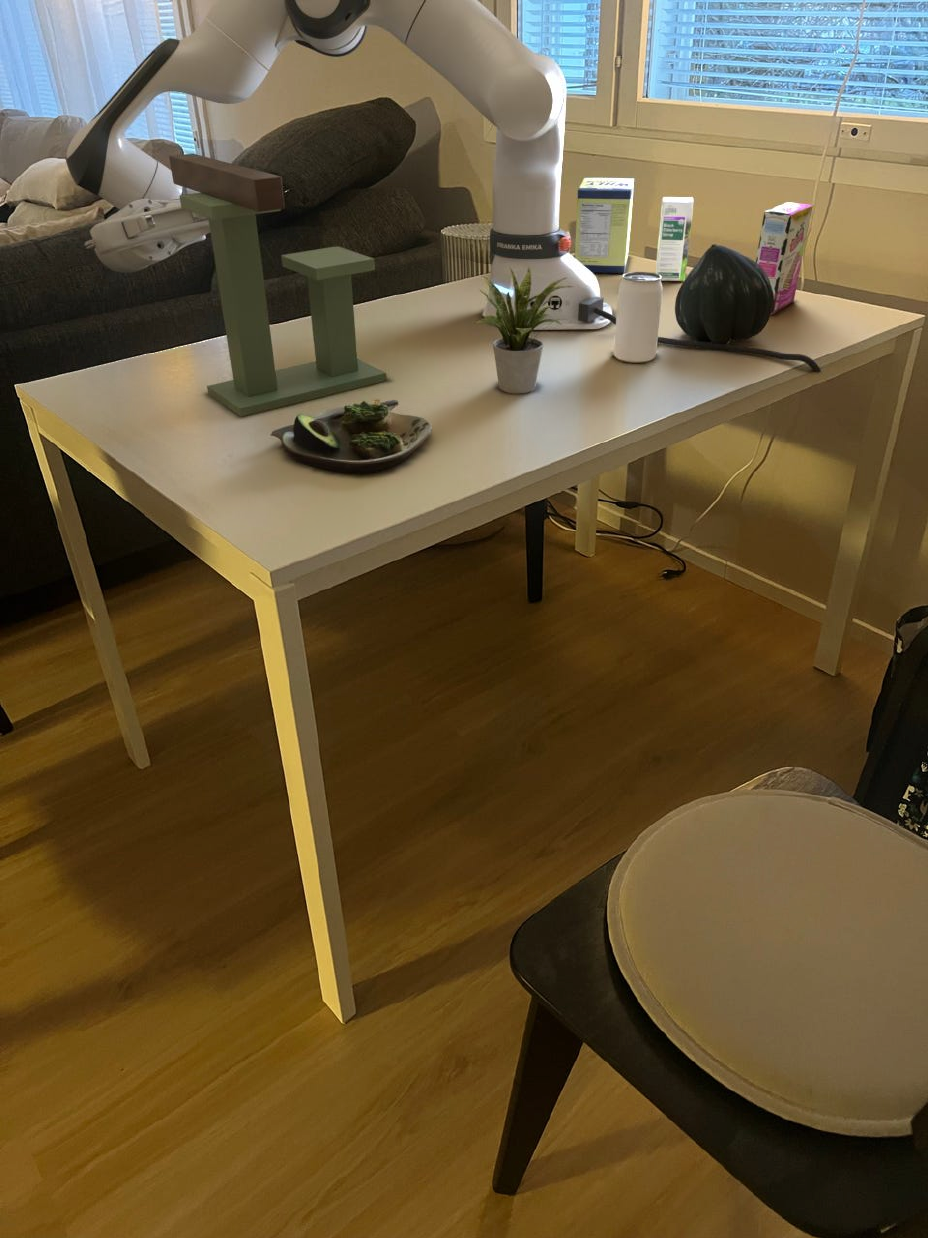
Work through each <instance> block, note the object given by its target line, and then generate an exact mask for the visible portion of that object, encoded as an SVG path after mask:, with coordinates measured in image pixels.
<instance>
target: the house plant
mask: <svg viewBox="0 0 928 1238" xmlns="http://www.w3.org/2000/svg"><path fill="white" fill-rule="evenodd" d="M510 270H511V268H510ZM511 273H512V278H513V283H514V291H515V318H514V312H513V308H512V304H511V297H510V293H509V292H508V293H507V295H506V301H507V305H508V309H509V312H508V309H507V305H506V303H505V301H504V299H503V296H502V294H501V293H500V291H499V289H498V288H497V287H496V286H495V285H494V284H493V283H492V282H491V281H490V278H488V277H485V276H483V275H480V276H481V278H483V279H484V281H485V283H486V284H487V285H488V288H489V287H490V289H491V291H492V293H493V295H494V298H495V300H496V303H497V304H496V303H495V302H494V301H493V300H492V299H491V298H490V297H489V296H488V295H487V294H488V293H486V292H485V291H483V290H482V289H481V288H478V290H479V292H481V293H482V294H483V295H484V296H485V297H486V299H487V298H488V299H489V301H490V302H491V303H492V304H493V305H494V306H495V308H496V309H497V311H496V316H497V317H495V316H486V318H485V317H483V318H480V319H478V320H477V321H476V322H475V323H474V324H477V323H478V324H479V323H480V324H490V325H494V326H495V328H496V329H497V330H498V331H499V333H500V335H501V338H498V339H495V340H494V341H493V343H492V349H493V355H494V361H495V369H496V376H497V383H498V388H499V389H500V390H501V391H502V392H506V393H508V394H527V393H530V392H533V391H534V390H535V389H536V385H537V381H538V376H539V370H540V366H541V360H542V355H543V350H544V342H543V341H542V340H541V339H538V338H536V337H537V336H538V335H539V334H540V332H538V333H537V334H536V335H535V336H534V337H531V334H532V332H533V331H534V330H533V329H534V328H535V327H537V326H538V325H539V324H541V323H544V322H551V323H552V322H556V323H559V324H560V325H562V324H561V323H560V322H558V321H557V320H566V319H557V320H554V319H545V320H542V319H543V318H545V317H546V316H548V315H547V314H544V312H545V311H546V310H547V309H548V308H549V307H552V306H554V305H551V306H547V307H545V308H543V309H542V310H541V311H540V309H539V308H540V306H541V305H542V303H543V301H544V300H545V299H546V297H547V296H548V295H549V294H550V293H551V292H553V291H555V290H557V289H560V288H569V287H571V286H561V287H560V286H557V287H554V286H555V285H556V284H557V283H559V282H560V281H562V280H564V279H566V278H568V277H566V278H563V279H560V280H557V281H555V282H553V283H552V284H550V285H549V286H548V287H547V288H545V289H544V290H543V291H542V293H541V294H538V295H536V296H534V297H532V298H530V299H529V295H530V290H531V272H530V269H529V268H528V271H527V275H526V276H525V277H524V278H523V281H522V283H521V286H520V288H519V286H518V283H517V281H516V278H515V275H514V272H513V271H512V270H511ZM535 298H537V299H536V300H535V302H534V304H533V306H532V307H531V309H528V310H527V306H528V303H529V302H530V301H532V300H534V299H535ZM551 300H559V299H550V300H548V301H546V302H545V303H547V302H549V301H551ZM545 303H544V304H545ZM544 304H543V305H544ZM543 305H542V306H543ZM542 306H541V307H542ZM537 312H538V313H537ZM509 314H510V315H509ZM531 316H532V317H531ZM549 316H550V315H549ZM530 318H531V319H530ZM502 320H503V321H502ZM529 320H530V321H529ZM540 320H542V321H540ZM503 322H504V323H505V325H504V323H503ZM528 322H529V323H528ZM551 323H550V324H551ZM527 324H528V325H527ZM546 327H547V326H546ZM546 327H545V328H546ZM545 328H544V329H545Z"/></svg>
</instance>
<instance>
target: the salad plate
mask: <svg viewBox="0 0 928 1238" xmlns="http://www.w3.org/2000/svg"><path fill="white" fill-rule="evenodd" d="M399 405H400V404H399V400H396V399H392V400H386V401H382V402H380V399H375V400H374V403H373V404H371V403H368V402H367V401H366V400H362V402H361V403H353V404H352V405H350V404H348V405H344V406H342V407H341V406H340V407H334V408H330V409H327V410H325V411H322V412H321V413H318V414H317V415H315V416H314V417H313V416H310V415H308V414H304V413H300V414H297V415H296V416H295V418H294V421H293V424H290V425H287V426H283V427H281V428H277V429H275V430H272V432H271V433H270V436H273V437H275V438H277V439H278V440H280V442H281V444H282V446H283V447H284V449H285V451H287V452H288V454H289V455H290V456H291V457H292V458H293V459H294V460H295V461H297V462H299V463H300V464H304V465H308V466H311V467H314V468H318V469H321V470H325V471H330V472H335V473H342V474H373V473H377V472H381V471H384V470H387V469H389V468H391V467H393V466H395V465H397V464H399V463H400V462H402V461H404V460H405V459H407V458H408V457H409V456H410V454H411V453H413V452H414V451H415V450H416V449H418V448H419V447H421V445H422V444H423V443H424V442H425V441H426V439H427V438H428V437H429V436H430V435H431V434H433V433H432V432H433V425H432V423H430V422H429V420H428V419H426V418H424V417H421V416H418V415H409V414H403V413H396V412H392V411H393V410H394V409H395V408H397V407H398V406H399Z"/></svg>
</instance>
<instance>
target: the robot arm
mask: <svg viewBox="0 0 928 1238" xmlns="http://www.w3.org/2000/svg"><path fill="white" fill-rule="evenodd" d="M368 26H374V27H379V28H381V29H383V30H385V31H386V32H388V33H390V34H391V35H392V36H393V37H395V38H396V39H397V40H398V41H399V42H400V43H401V44H402V45H404V46H405V47H406V48H408V49H409V50H410V51H411V52H412V53H413V54H415V55H416V56H417V57H418V58H420V60H422V61H423V62H424V63H426V64H427V65H428V66H430V67H431V68H432V69H433V70H434V71H436V72H437V74H439V75H440V76H442V78H444V79H445V80H446V81H447V82H449V84H451V85H452V86H453V87H454V88H455V89H456V90H457V91H458V92H459V93H460V94H461V96H463V98H465V100H466V101H468V102H469V104H471V106H473V107H474V108H475V110H477V111H478V112H479V113H480V114H481V115H482V116H483V117H484V118H485V119H487V120H488V121H489V122H490V123H491V124H492V125H493V126H494V127H496V134H495V135H496V136H495V147H494V148H495V150H494V161H493V162H494V164H493V173H492V228H491V229H490V230H489V237H488V259H489V263H490V275H489V280H490V281H491V282H492V283H493V284H494V285H495V286H496V287H497V288H498V289H499V291H500V293H501V294H502V296H503V299H504V301H505V303H506V305H507V301H506V295H507V293H508V292H509V293H510V297H511V304H512V308H513V312H514V318H515V291H514V283H513V278H512V273H511V270H512V271H513V272H514V275H515V278H516V281H517V283H518V286H519V288H520V286H521V283H522V281H523V278H524V277H525V276H526V275H527V271H528V268H529V269H530V272H531V290H530V295H529V299H530V298H532V297H534V296H536V295H538V294H541V293H542V291H543V290H544V289H545V288H547V287H548V286H549V285H550V284H552V283H553V282H555V281H557V280H560V279H563V278H566V277H568V278H566V279H564V280H562V281H560V282H559V283H557V284H556V285H555V286H554V287H557V286H560V287H561V286H571V287H569V288H560V289H557V290H555V291H553V292H551V293H550V294H549V295H548V296H547V297H546V299H545V300H544V301H543V303H542V305H543V304H544V303H545V302H546V301H548V300H550V299H559V300H551V301H549V302H547V303H545V304H544V305H543V306H542V305H541V306H542V307H541V306H540V308H539V309H540V311H541V310H542V309H543V308H545V307H547V306H551V305H554V306H552V307H549V308H548V309H547V310H546V311H545V312H544V314H547V315H548V316H546V317H545V318H543V319H542V320H545V319H554V320H557V319H566V320H557V321H558V322H560V323H561V324H562V325H560V324H559V323H556V322H552V323H551V322H544V323H541V324H539V325H538V326H537V327H535V328H534V329H533V330H532V331H538V330H539V331H544V330H545V331H547V330H551V331H552V330H553V331H554V330H598V329H601V328H605V327H606V326H608V325H609V324H610V322H611V323H613V325H615V326H616V316H614V315H613V308H612V307H611V306H610V304H608V303H606V302H605V301H604V299H605V298H604V297H601V289H600V285H599V281H598V278H597V276H596V275H595V273H594V272H591V271H589V270H588V269H587V268H586V267H585V266H584V265H582V264H581V263H580V262H579V261H578V260H577V259H576V258H575V256H573V255H572V254H571V253H570V250H571V246H572V240H571V234H570V232H569V231H567V232H566V231H565V230H563V229H562V228H560V227H559V226H560V205H561V204H560V203H561V183H562V181H561V180H562V166H563V153H564V139H565V138H564V137H565V122H566V107H567V82H566V77H565V75H564V73H563V70H562V69H561V67H560V66H559V64H558V63H556V61H555V60H554V59H553V58H551V57H550V56H547V55H546V54H543V53H539V52H533V50H531V49H530V48H529V46H527V45H526V44H525V43H524V42H522V41H521V40H520V39H519V38H518V37H517V36H516V35H515V34H514V33H513V32H511V31H510V30H509V28H508V27H506V26H505V25H504V24H503V23H502V22H501V21H500V20H499V19H498V18H497V17H496V15H494V14H493V13H492V12H491V11H490V10H489V9H488V8H487V7H485V5H483V4H482V3H481V2H480V1H478V0H215V2H214V3H213V4H212V6H211V8H210V9H209V11H208V12H207V14H206V16H205V18H204V19H203V20H202V22H201V24H200V25H199V26H198V27H197V29H195V30H194V31H193V32H192V33H191V34H189V35H187V36H186V37H183V38H181V39H176V38H171V37H168V38H167V39H165V40H164V41H162V42H160V43H159V44H158V45H157V46H156V47H155V48H153V49H152V51H151V52H150V53H149V54H148V55H147V56H146V57H145V58H144V59H143V60H142V62H141V63H140V64H139V65H138V66H136V68H135V69H134V71H133V72H132V73H131V74H130V75H129V76H128V77H127V79H126V80H125V81H124V82H123V83H122V85H121V86H120V87H119V88H118V89H117V90H116V91H115V93H114V94H113V95H112V96H111V97H110V99H109V100H107V102H106V104H105V105H103V107H102V108H101V110H99V112H98V113H97V114H96V115H95V116H94V117H93V118H92V119H91V120H90V121H89V122H88V123H86V124H85V125H84V126H83V127H82V128H81V129H80V130H79V131H77V133H76V134H75V135H74V136H73V138H72V139H71V141H70V143H69V145H68V147H67V151H66V155H65V162H66V166H67V169H68V171H69V174H70V177H71V179H72V180H73V183H75V185H77V187H80V188H82V189H83V190H85V191H87V192H89V193H91V194H92V195H94V196H98V197H100V198H101V199H103V200H105V202H107V203H109V204H110V205H112V206H113V207H115V208H117V209H118V211H117V212H115V213H113V214H111V215H110V216H108V217H107V218H106V219H105V220H104V221H102V222H98V223H97V224H95V225H94V226H93V227H91V228H90V231H89V233H90V236H91V239H89V240H86V242H84V247H85V248H86V249H87V250H89V249H94V252H95V255H96V257H97V258H98V260H99V261H100V262H101V263H102V265H104V266H105V267H106V268H108V269H109V270H111V271H113V272H116V273H121V274H132V273H136V272H139V271H142V270H145V269H146V268H149V266H152V265H155V264H157V263H160V262H161V261H163V260H166V259H168V258H169V257H171V256H174V254H176V253H177V252H179V251H180V250H183V249H185V248H188V247H190V246H193V245H196V244H199V243H201V242H203V241H205V240H206V239H207V238H206V237H207V236H206V235H208V234H211V232H210V226H209V220H208V218H207V217H205V216H202V215H199V214H197V213H194V212H191V211H188V210H186V209H183V208H181V202H180V196H179V195H186V194H188V188H185V187H182V186H179V185H176V184H174V182H173V177H172V171H171V168H168V167H167V166H166V165H164V164H162V163H161V162H160V161H159V160H157V159H155V158H154V157H152V156H150V155H149V154H148V153H146V152H145V151H143V150H142V149H140V148H139V147H138V146H137V145H135V144H133V143H132V142H131V141H129V140H128V139H127V137H126V136H125V132H127V130H128V129H129V128H130V126H131V125H132V124H133V123H134V122H135V121H136V119H138V117H140V115H141V114H142V113H143V112H144V110H145V109H146V108H147V107H148V106H149V105H150V103H152V101H153V100H154V99H155V98H156V97H157V96H159V95H161V94H164V93H169V92H176V93H182V94H186V95H190V96H194V97H195V98H196V97H197V98H199V99H201V100H205V101H208V102H212V103H217V104H222V105H223V104H224V105H233V104H239V103H242V102H244V101H246V100H248V99H250V98H251V97H252V95H253V94H254V93H255V92H256V91H257V89H258V88H259V87H260V86H261V84H262V83H263V81H264V80H265V79H266V76H267V75H268V73H269V71H270V70H271V68H272V66H273V64H274V63H275V61H276V59H277V58H278V56H279V55H280V53H281V51H283V49H284V48H285V47H286V46H287V45H288V44H289V43H291V42H293V41H294V42H295V43H296V44H298V45H300V46H303V47H305V48H308V49H310V50H312V51H314V52H316V53H317V54H320V55H324V56H327V57H331V58H341V57H345V56H348V55H351V53H353V52H355V51H356V50H357V49H358V48H359V46H361V44H362V42H363V41H364V39H365V36H366V34H367V29H368ZM510 268H511V270H510ZM486 294H487V295H488V296H489V297H490V298H491V299H492V300H493V301H494V302H495V303H496V300H495V298H494V295H493V293H492V291H491V289H490V287H489V286H488V289H487V293H486ZM536 299H537V298H535V299H534V300H532V301H530V302H529V303H528V306H527V310H528V309H531V307H532V306H533V304H534V302H535V300H536ZM496 304H497V303H496ZM507 309H508V305H507ZM496 311H497V309H496V308H495V306H494V305H493V304H492V303H491V302H490V301H489V299H488V298H487V297H486V299H485V304H484V308H483V311H482V316H483V318H486V316H495V317H497V316H496ZM508 312H509V309H508ZM537 313H538V312H537ZM509 315H510V314H509ZM549 315H550V316H549ZM531 317H532V316H531ZM530 319H531V318H530ZM542 320H540V321H542ZM502 321H503V320H502ZM529 321H530V320H529ZM503 323H504V322H503ZM528 323H529V322H528ZM550 323H551V324H550ZM504 325H505V323H504ZM527 325H528V324H527ZM546 326H547V327H546ZM545 327H546V328H545ZM544 328H545V329H544ZM657 344H663V345H668V346H675V347H676V346H677V347H683V348H694V349H695V348H698V349H710V350H711V349H712V350H721V351H727V352H736V353H742V354H750V355H756V356H761V357H767V358H772V359H776V360H782V361H798V362H803V363H804V364H806V365H808V366H809V367H810V368H811V370H812V372H814V373H815V372H816V373H822V370H821V367H819V365H818V364H817V363H816V361H815V360H814V359H812V358H811V357H810V356H808V355H805V354H802V353H788V352H787V353H786V352H785V353H784V352H779V351H774V350H769V349H763V348H758V347H751V346H744V345H737V344H731V343H727V344H723V343H713V342H700V341H695V340H685V339H676V338H670V337H663V336H658V341H657Z"/></svg>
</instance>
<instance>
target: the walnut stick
mask: <svg viewBox="0 0 928 1238" xmlns="http://www.w3.org/2000/svg"><path fill="white" fill-rule="evenodd" d="M168 159H169V164H170V165H169V166H170V170H171V171H172V177H173V182H174V184H176V185H179V186H182V187H185V188H186V189H187V190H188V189H189V190H192V191H194V192H196V193H203V194H206V195H209V196H212V197H215V198H218V199H221V200H224V201H227V202H230V203H233V204H236V205H239V206H242V207H245V208H248V209H251V210H254V211H257V212H263V211H270V210H278V209H281V210H285V209H286V206H285V195H284V189H283V188H284V187H283V179H282V176H279V175H276V174H272V173H269V172H264V171H261V170H257V169H254V168H250V167H245V166H242V165H238V164H234V163H231V162H227V161H224V160H220V159H216V158H211V157H207V156H204V155H200V154H198V153H197V154H196V153H184V154H183V153H182V154H173V155H168Z"/></svg>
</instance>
